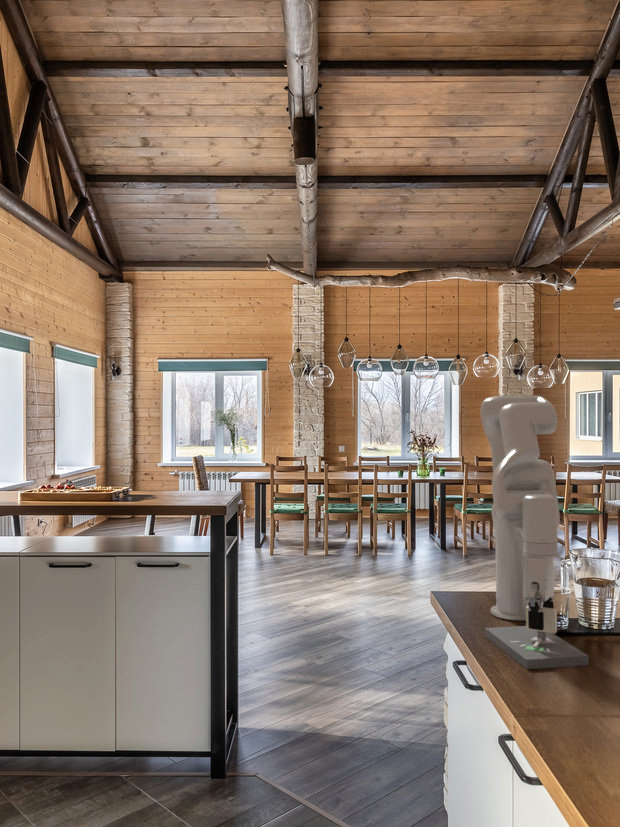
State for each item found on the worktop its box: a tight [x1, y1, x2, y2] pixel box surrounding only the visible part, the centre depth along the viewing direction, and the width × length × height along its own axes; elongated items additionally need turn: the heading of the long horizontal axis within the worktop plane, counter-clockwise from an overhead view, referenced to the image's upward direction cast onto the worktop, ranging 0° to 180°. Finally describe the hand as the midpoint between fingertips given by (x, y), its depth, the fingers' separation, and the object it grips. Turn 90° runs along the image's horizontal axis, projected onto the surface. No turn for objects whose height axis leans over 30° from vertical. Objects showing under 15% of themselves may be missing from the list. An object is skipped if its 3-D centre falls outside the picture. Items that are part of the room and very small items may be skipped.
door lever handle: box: [525, 605, 558, 648], centre depth 150 cm, size 6×9×7 cm
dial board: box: [484, 625, 590, 670], centre depth 153 cm, size 22×14×2 cm, turn 8°
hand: (541, 623), depth 153 cm, fingers open, 9 cm apart
